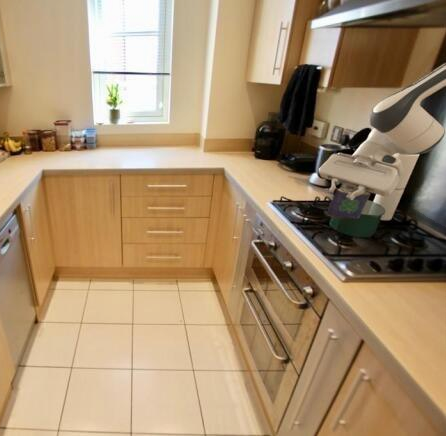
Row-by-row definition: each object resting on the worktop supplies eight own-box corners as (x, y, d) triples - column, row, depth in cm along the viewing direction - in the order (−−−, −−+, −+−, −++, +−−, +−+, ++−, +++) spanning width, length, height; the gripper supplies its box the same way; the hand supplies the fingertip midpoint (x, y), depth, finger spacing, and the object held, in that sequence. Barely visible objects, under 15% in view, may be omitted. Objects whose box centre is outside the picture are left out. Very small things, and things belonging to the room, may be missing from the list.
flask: (357, 215, 100) (371, 186, 95) (360, 220, 98) (375, 190, 92) (325, 212, 102) (337, 182, 97) (327, 216, 100) (340, 187, 94)
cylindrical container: (382, 221, 118) (409, 156, 107) (364, 213, 124) (388, 151, 113) (396, 218, 120) (424, 154, 108) (377, 210, 126) (402, 149, 115)
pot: (386, 229, 113) (395, 208, 109) (355, 243, 105) (364, 221, 101) (347, 214, 124) (354, 194, 120) (316, 226, 116) (323, 205, 112)
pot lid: (393, 211, 108) (398, 199, 106) (369, 221, 102) (374, 208, 100) (349, 196, 120) (353, 185, 117) (325, 205, 114) (329, 193, 112)
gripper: (332, 145, 102) (305, 179, 102) (407, 162, 86) (374, 202, 86) (336, 157, 106) (310, 189, 106) (409, 174, 89) (378, 213, 90)
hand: (339, 195), depth 96 cm, fingers closed on flask, 4 cm apart
